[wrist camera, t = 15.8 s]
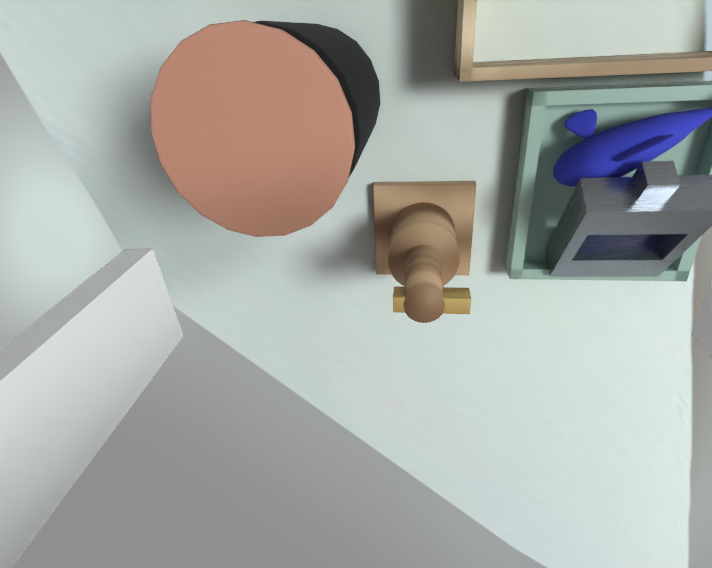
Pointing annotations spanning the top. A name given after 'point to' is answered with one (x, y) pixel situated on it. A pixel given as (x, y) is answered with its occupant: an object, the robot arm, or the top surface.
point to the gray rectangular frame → (630, 223)
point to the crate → (562, 59)
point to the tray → (551, 139)
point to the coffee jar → (263, 121)
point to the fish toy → (622, 144)
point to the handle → (425, 244)
